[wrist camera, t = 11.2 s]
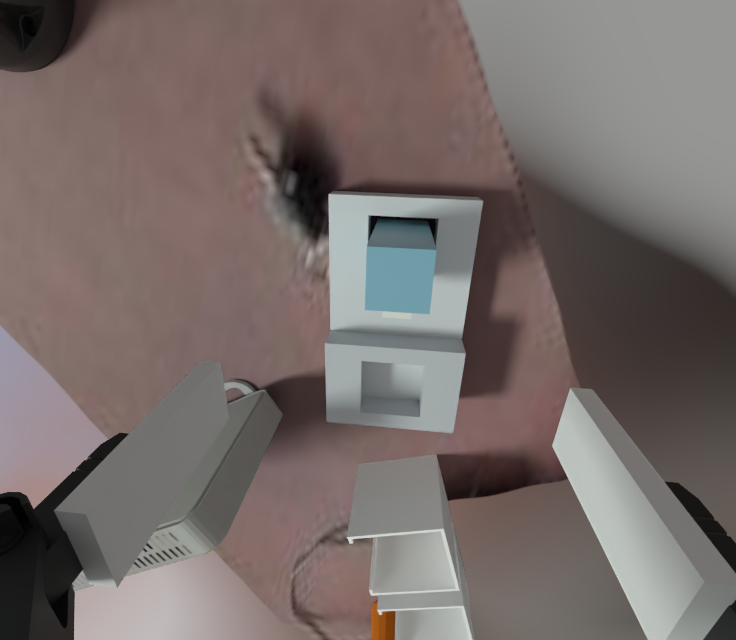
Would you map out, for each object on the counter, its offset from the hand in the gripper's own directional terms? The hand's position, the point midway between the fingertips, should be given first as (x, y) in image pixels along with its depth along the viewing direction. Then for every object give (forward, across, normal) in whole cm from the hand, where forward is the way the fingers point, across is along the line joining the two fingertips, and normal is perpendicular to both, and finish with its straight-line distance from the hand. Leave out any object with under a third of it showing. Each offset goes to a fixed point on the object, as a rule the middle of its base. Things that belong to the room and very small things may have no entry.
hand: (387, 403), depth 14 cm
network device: (+27, -25, -26) cm, 45 cm away
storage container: (+27, +5, -42) cm, 50 cm away
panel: (+27, 0, -7) cm, 28 cm away
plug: (+27, 0, 0) cm, 27 cm away
